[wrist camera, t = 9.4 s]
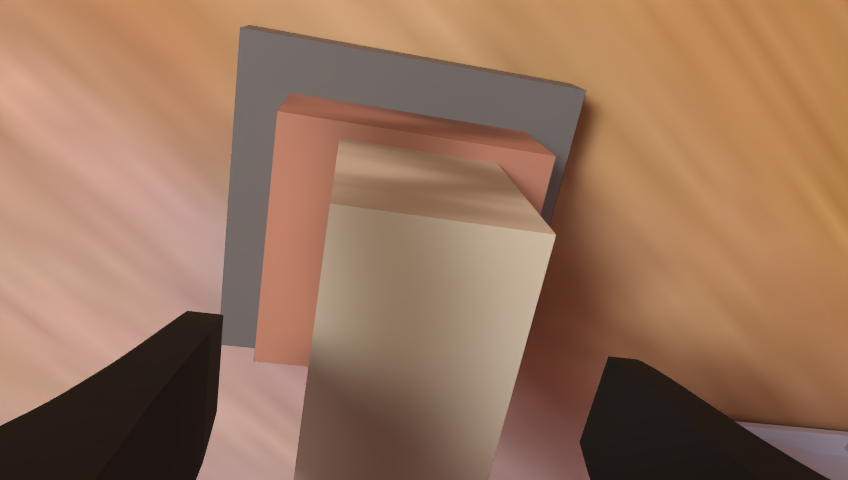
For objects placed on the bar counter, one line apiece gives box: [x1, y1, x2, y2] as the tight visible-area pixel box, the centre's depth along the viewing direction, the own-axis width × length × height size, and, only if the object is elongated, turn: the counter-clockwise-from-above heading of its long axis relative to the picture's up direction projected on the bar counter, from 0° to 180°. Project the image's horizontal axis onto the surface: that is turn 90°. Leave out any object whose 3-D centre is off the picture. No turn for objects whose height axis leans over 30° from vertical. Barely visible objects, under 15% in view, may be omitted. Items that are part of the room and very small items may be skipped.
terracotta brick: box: [254, 93, 556, 366], centre depth 17 cm, size 7×7×3 cm
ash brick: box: [294, 138, 556, 480], centre depth 14 cm, size 4×6×5 cm, turn 169°
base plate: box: [220, 25, 586, 348], centre depth 20 cm, size 10×10×2 cm
